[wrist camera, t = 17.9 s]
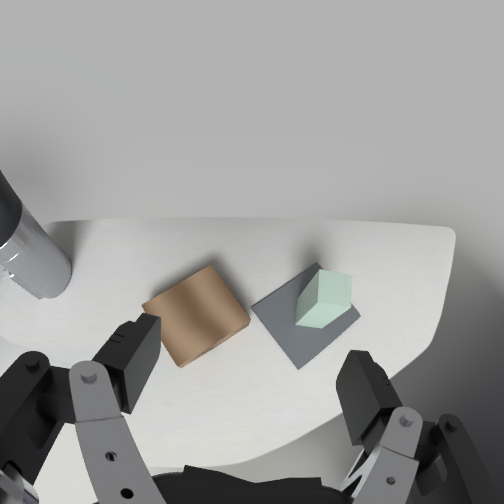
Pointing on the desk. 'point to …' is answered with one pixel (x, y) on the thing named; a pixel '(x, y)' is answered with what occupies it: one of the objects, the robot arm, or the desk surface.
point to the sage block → (324, 299)
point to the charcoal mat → (295, 336)
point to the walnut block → (197, 315)
